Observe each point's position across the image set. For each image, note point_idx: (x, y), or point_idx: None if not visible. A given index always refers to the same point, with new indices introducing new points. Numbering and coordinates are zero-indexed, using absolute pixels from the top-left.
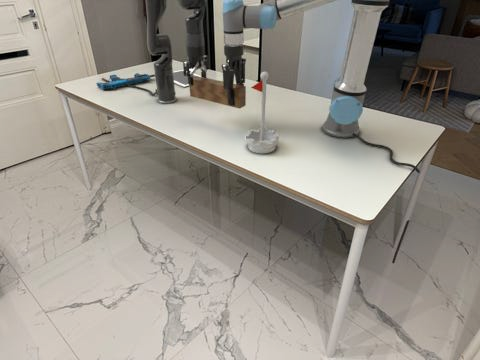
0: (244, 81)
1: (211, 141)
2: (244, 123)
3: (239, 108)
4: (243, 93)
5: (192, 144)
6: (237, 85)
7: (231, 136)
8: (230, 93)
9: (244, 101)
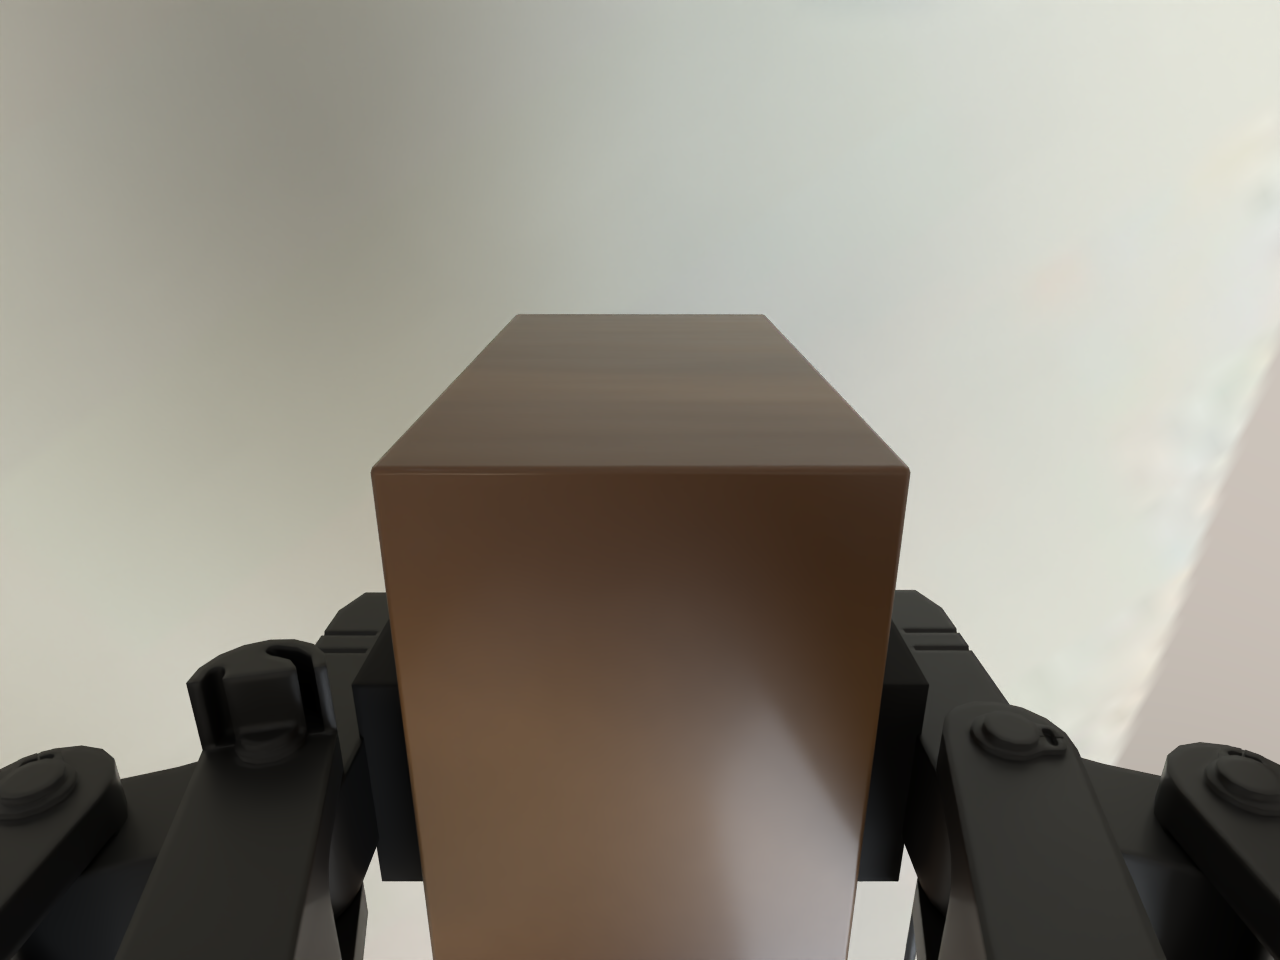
0: (20, 793)
1: (1028, 446)
2: (369, 419)
3: (765, 318)
4: (585, 392)
5: (1182, 567)
6: (518, 796)
7: (792, 330)
8: (968, 673)
9: (557, 332)
